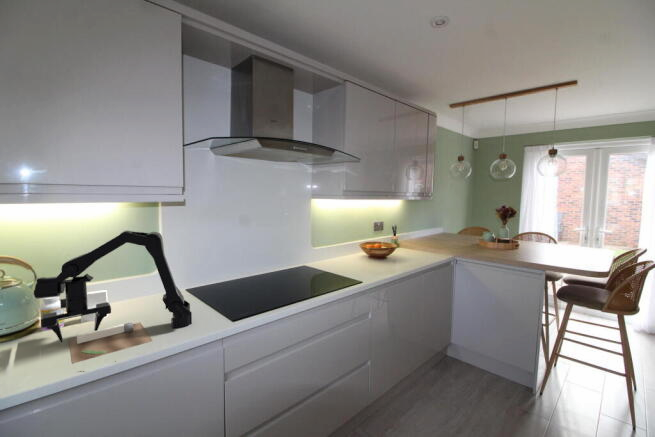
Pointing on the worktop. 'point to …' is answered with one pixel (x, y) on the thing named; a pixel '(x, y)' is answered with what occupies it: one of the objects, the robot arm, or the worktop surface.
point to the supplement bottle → (52, 309)
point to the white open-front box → (94, 303)
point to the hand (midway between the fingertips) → (79, 337)
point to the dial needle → (104, 332)
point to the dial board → (108, 344)
